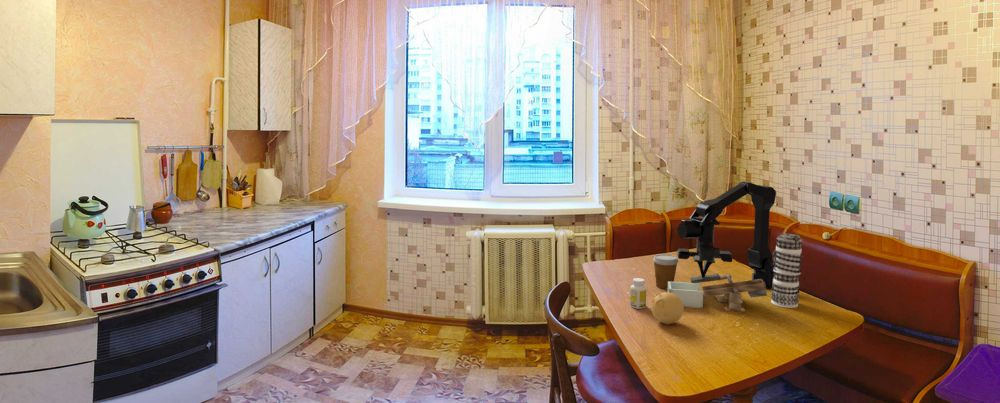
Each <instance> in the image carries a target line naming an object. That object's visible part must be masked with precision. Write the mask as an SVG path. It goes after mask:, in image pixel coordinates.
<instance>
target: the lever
mask: <svg viewBox="0 0 1000 403" xmlns="http://www.w3.org/2000/svg"><path fill="white" fill-rule="evenodd" d="M689 278H690V281H691V282H690V283H700V284H701V283H707V282H715V281H722V280H727V281H728V282H725V283H726V284H725V283H720V284H711V285H705V286H702V291H703V296H704V297H713V296H714V297H715V296H717V295H722V296H724V294H730V292H732V293H745V292H747V293H748V295H749V297H750V298H758V297H759V298H760V297H768V294H767V288H766V285H765V283H764V281H763V280H762V279H757V280H752V279H751V280H744V281H735V282H734V281H733V280H732V275H731V274H724V275H719V273H714V274H706V275H705V277H704V278H703V277H702V276H701V275H699V276H697V275H696V276H691V277H689Z"/></svg>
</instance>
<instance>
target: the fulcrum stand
mask: <svg viewBox="0 0 1000 403" xmlns="http://www.w3.org/2000/svg"><path fill="white" fill-rule="evenodd" d="M726 283H727V282H724V284H726ZM742 297H743V294H742V292H739V293H732V292H730V294H723V295H716V299H717V301H718V302H719V303H728V306H724V310H725V311H733V312H745V307H742V305H743V304H744V300H743V299H742Z"/></svg>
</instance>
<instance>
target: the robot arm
mask: <svg viewBox="0 0 1000 403" xmlns="http://www.w3.org/2000/svg"><path fill="white" fill-rule="evenodd" d="M747 195H749V196H750V200H751V203H752V205H753V207H754V227H753V228H754V231H753V245H752V246H751V247H750V248H748V249H747V250H746V253H747V256H746V260H747V262H748V264H749V268H750V269H751V270H753V272H752V273H751V280H757V279H762V280H763V281H764V283H765V285H766V290H767V289H769V290H772V287H773V285H772V283H773V282H774V275H775V272H774V271H773V268H774V267H775V266H774V265H773V262H774V261H773V260H774V259H773V252H772V251H771V249H770V247H769V234H770V233H769V232H770V216H771V214H770V212H771V208H772V207H773V206H774V204H775V202H776V197H777V191H776V189H775V188H774V187H772V186H767V185H760V184H754V183H752V182H749V181H743V180H742V181H739V182H738V183H737V185H735V186H732V188H730V189H729V190H726V191H725V192H724V193H721V194H720V195H719V196H717V197H715V198H713V199H712V198H711V199H706V200H704V201H702V202H699V203H698V204H697V205H696V208H695V210H694V211H693V213H691V215H690V217H689V219H681V222H680V223H679V224H678V227H677V231H676V232H677V235H678V237H679V238H680V239H696V249H695V250H696V251H690V249H689V248H680V247H679V248H678V249H677V251H676V252H677V253H676V257H677V259H678V260H688V259H689V258H691V257H692V259H693V261H694V262H695V263H697V265H698V268H699V271H700V276H702V277H703V278H704V277H705V275H707V273H708V270H709V268H710V266H711V265H712V264H716V259H720V260H721V261H722V262H724V263H732V262H733V258H734V257H733V254H732V253H731V252H730V251H728V250H721V248H720V247H714V241H715V240H714V239H715V226H720V225H721V223H720V222H719V221H718V220H717V218H718V217H719V216H721V214H722V213H723V211H724V209H725V208H727V207H729V206H730V205H732V204H733V203H735V202H737V201H738V200H740V199H742V198H743V197H745V196H747Z"/></svg>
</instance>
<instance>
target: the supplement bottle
mask: <svg viewBox="0 0 1000 403" xmlns="http://www.w3.org/2000/svg"><path fill="white" fill-rule="evenodd" d="M645 281H646V280H645V279H644V278H641V277H634V278H633V279H632V285H630V295H629V296H630V298H629V299H630V300H629V302H630V304H629V305H630V307H631V308H633V309H638V310H639V309H641V310H643V309H646V307H647V286H646V285H645Z"/></svg>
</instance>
